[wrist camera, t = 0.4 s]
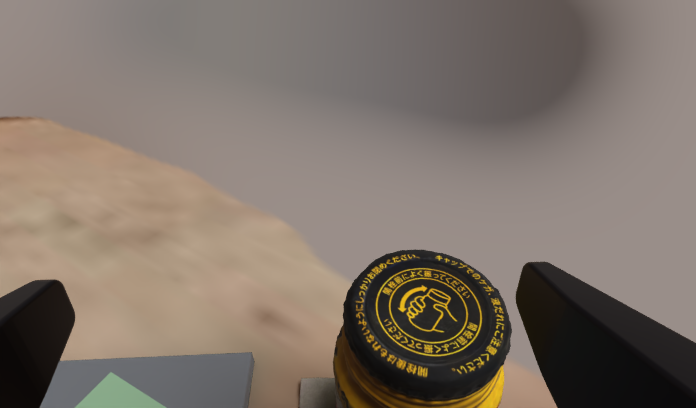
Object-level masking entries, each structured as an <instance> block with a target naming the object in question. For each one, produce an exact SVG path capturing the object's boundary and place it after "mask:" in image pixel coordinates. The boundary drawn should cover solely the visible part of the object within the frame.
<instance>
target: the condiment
mask: <svg viewBox="0 0 696 408" xmlns="http://www.w3.org/2000/svg"><path fill="white" fill-rule="evenodd" d="M343 306H344V313H343V319H344V324H343V326H342V328H341V330H340V333H339V335H338V337H337V341H336V347H335V352H334V360H333V369H334V376H335V378H302V379H301V388H300V408H498V406H499V404H500V402H501V397H502V392H503V386H504V371H503V365H504V361H505V359H506V355H507V354H508V352H509V350H510V337H511V333H512V329H511V323H510V321H509V315H508V313H507V310H506V306H505V303H504V301H503V299H502V297H501V296H500V293H499V291H498V289H496V288H494V287H493V286H492V284H491V283H490V281H489V280H488V279H487V278H486V277H485V276H484V275H483V274H482V273H480V272H479V271H477V270H476V269H474V268H472V267H471V266H470V265H467V264H466V263H464V262H463V261H462V260H460V259H457V258H454V257H452V256H449V255H446V254H443V253H436V252H432V251H426V250H406V251H405V250H402V251H397V252H394V253H390V254H386V255H384V256H382V257H380V258H378V259H376V260H375V261H374V262H372V263H371V264H370V265H369V266H368V267H367V268H366V269H365V270H364V271H363V272H362V273H361V274H360V275H359V276H358V277H357V279H355V280H354V282H353V283H352V286H351V288H350V289H349V290H348V292H347V297H346V300H345V302H344V304H343Z"/></svg>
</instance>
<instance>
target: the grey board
mask: <svg viewBox="0 0 696 408" xmlns="http://www.w3.org/2000/svg"><path fill="white" fill-rule="evenodd" d="M253 367H254V359H253V355H252V352H249V353H227V354H205V355H183V356H160V357H138V358H116V359H94V360H72V361H59V363H58V366H57V368H56V371H55V373H54V376H53V378H52V381H51V383H50V386H49V388H48V390H47V393H46V395H45V397H44V399H43V402H42V404H41V406H40V408H248V402H249V395H250V388H251V381H252V374H253Z"/></svg>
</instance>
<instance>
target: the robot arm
mask: <svg viewBox="0 0 696 408" xmlns="http://www.w3.org/2000/svg"><path fill="white" fill-rule="evenodd" d="M516 304H517V307H518V310H519V313H520V316H521V319H522V321H523V324H524V327H525V330H526V333H527V335H528V338H529V341H530V344H531V346H532V349H533V352H534V355H535V358H536V360H537V363H538V366H539V368H540V371H541V373H542V376H543V378H544V380H545V382H546V385H547V387H548V389H549V391H550V393H551V395H552V397H553V399H554V401H555V403H556V405H557V407H558V408H696V343H695V342H693V341H691V340H689V339H687V338H686V337H684V336H682V335H680V334H678V333H676V332H675V331H673V330H671V329H669V328H667V327H665V326H664V325H662V324H660V323H658V322H656V321H654V320H653V319H651V318H649V317H647V316H645V315H643V314H642V313H640V312H638V311H636V310H634V309H632V308H630V307H628V306H627V305H625V304H623V303H621V302H620V301H618V300H616V299H614V298H612V297H610V296H608V295H607V294H605V293H603V292H601V291H599V290H598V289H596V288H594V287H592V286H590V285H588V284H587V283H585V282H583V281H581V280H579V279H577V278H575V277H574V276H572V275H570V274H568V273H566V272H565V271H563V270H561V269H559V268H557V267H555V266H554V265H552V264H550V263H548V262H528V263H526V264H525V265H524V266H523V269H522V272H521V276H520V280H519V284H518V288H517V291H516ZM74 322H75V312H74V309H73V307H72V304H71V302H70V300H69V297H68V295H67V293H66V290H65V288H64V286H63V284H62V283H61V282H60V281H58V280H35V281H32V282H30V283H28V284H26V285H24V286H22V287H20V288H18V289H16V290H14V291H12V292H11V293H9V294H7V295H5V296H3V297H1V298H0V408H40V406H41V404H42V402H43V399H44V397H45V395H46V393H47V390H48V388H49V386H50V383H51V381H52V378H53V376H54V373H55V371H56V368H57V366H58V363H59V361H60V358H61V356H62V353H63V351H64V348H65V346H66V343H67V341H68V338H69V336H70V333H71V331H72V328H73V326H74Z"/></svg>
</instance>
